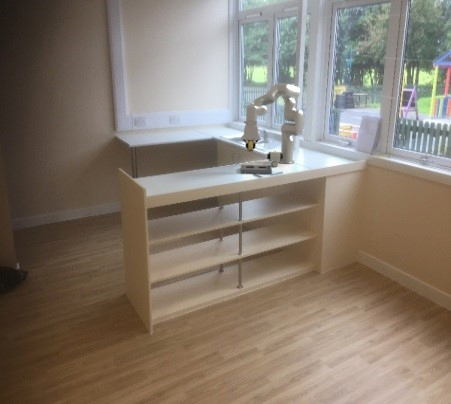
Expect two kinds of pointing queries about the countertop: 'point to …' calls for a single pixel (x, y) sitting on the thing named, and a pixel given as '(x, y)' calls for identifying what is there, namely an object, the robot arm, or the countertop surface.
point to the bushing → (250, 145)
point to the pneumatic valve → (274, 157)
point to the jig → (256, 169)
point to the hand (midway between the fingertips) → (250, 148)
